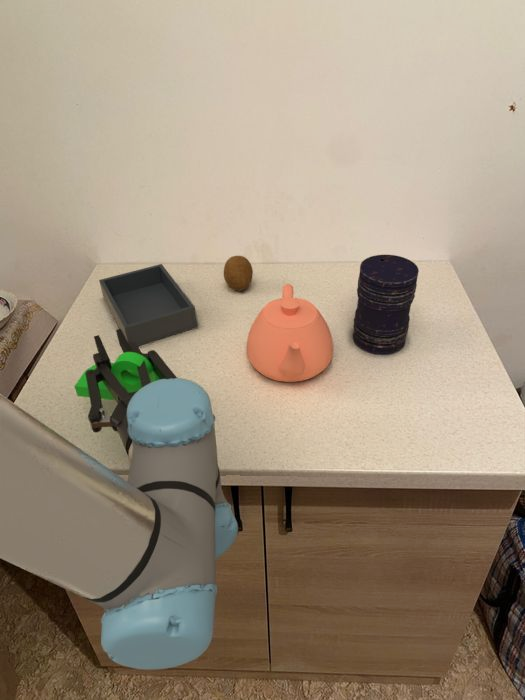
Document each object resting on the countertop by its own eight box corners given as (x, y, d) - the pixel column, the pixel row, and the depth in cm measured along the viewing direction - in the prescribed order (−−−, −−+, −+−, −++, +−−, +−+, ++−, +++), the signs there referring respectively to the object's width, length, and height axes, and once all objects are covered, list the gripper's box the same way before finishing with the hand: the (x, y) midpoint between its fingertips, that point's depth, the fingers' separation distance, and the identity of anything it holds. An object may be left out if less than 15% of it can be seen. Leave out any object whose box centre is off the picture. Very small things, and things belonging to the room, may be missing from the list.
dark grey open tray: (129, 348, 93) (124, 327, 90) (104, 299, 107) (98, 279, 104) (197, 327, 98) (195, 307, 95) (164, 282, 112) (161, 263, 109)
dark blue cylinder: (415, 350, 91) (430, 278, 81) (364, 359, 89) (373, 287, 80) (391, 320, 98) (403, 251, 89) (344, 327, 97) (350, 258, 88)
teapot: (340, 406, 80) (346, 345, 73) (246, 408, 80) (242, 348, 73) (325, 325, 97) (329, 269, 90) (247, 327, 98) (244, 272, 90)
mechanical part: (166, 377, 79) (159, 336, 74) (153, 404, 74) (145, 362, 69) (94, 370, 80) (82, 329, 75) (77, 396, 76) (63, 354, 71)
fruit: (221, 295, 107) (218, 262, 102) (229, 280, 112) (226, 248, 107) (249, 298, 106) (247, 264, 101) (256, 283, 111) (255, 250, 106)
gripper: (99, 488, 60) (62, 374, 76) (220, 440, 65) (162, 343, 82) (84, 446, 55) (48, 334, 71) (216, 398, 61) (155, 305, 77)
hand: (109, 339), depth 77 cm, fingers open, 3 cm apart
